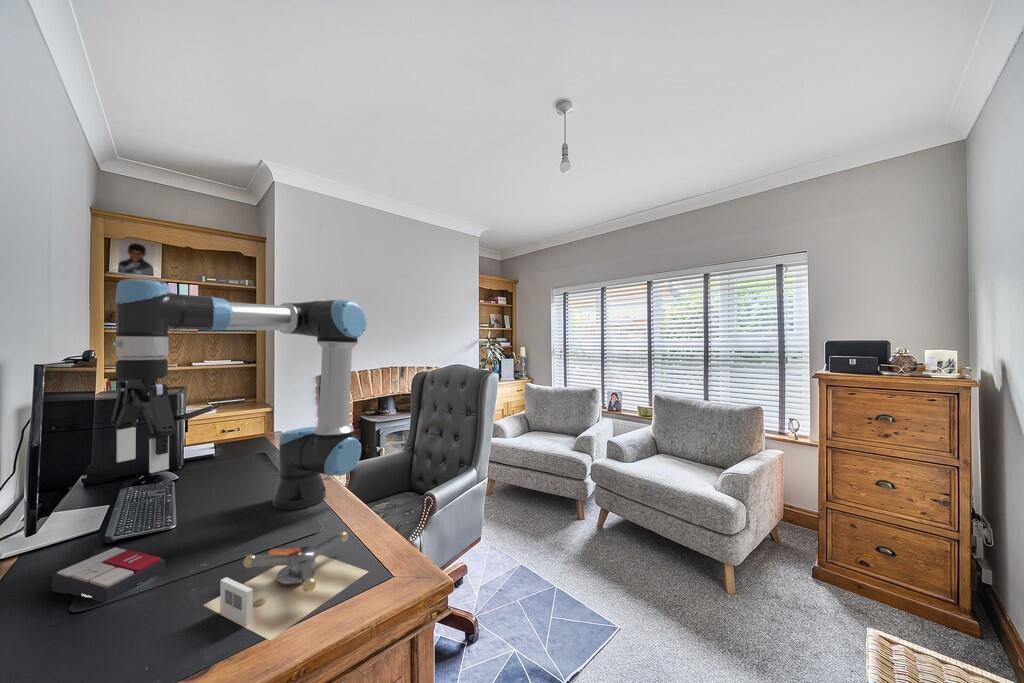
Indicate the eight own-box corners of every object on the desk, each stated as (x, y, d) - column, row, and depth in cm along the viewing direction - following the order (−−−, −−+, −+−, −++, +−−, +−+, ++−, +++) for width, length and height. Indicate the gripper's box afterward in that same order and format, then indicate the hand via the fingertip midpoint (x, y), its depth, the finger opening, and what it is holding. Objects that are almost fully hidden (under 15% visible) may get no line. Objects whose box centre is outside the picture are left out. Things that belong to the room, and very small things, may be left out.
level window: (226, 608, 73) (226, 576, 73) (253, 622, 70) (253, 588, 70) (219, 612, 72) (219, 580, 72) (246, 626, 69) (246, 592, 69)
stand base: (306, 555, 94) (306, 548, 94) (368, 578, 86) (368, 569, 86) (202, 613, 74) (203, 603, 74) (270, 649, 66) (270, 638, 66)
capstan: (316, 539, 98) (316, 517, 98) (378, 560, 89) (379, 535, 89) (240, 579, 82) (241, 552, 82) (307, 609, 73) (308, 578, 73)
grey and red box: (105, 586, 77) (51, 570, 80) (104, 607, 77) (50, 591, 80) (166, 556, 88) (116, 543, 91) (165, 575, 88) (115, 562, 91)
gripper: (89, 357, 79) (88, 461, 79) (149, 361, 68) (148, 482, 68) (137, 355, 86) (136, 451, 86) (198, 359, 75) (198, 469, 75)
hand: (142, 465), depth 77 cm, fingers open, 13 cm apart
